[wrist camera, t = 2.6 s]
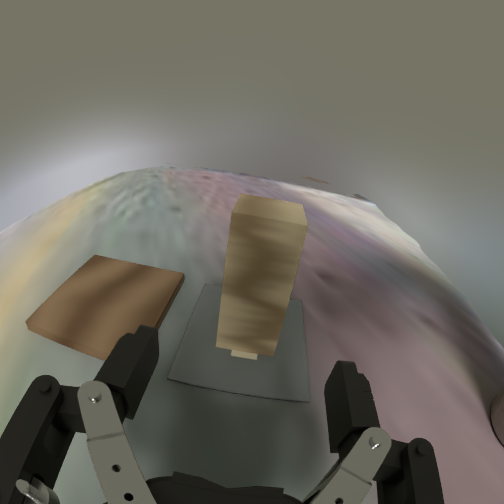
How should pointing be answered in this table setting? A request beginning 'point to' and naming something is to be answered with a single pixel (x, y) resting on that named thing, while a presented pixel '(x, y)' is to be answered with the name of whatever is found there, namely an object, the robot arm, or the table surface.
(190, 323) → the card
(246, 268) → the maple block
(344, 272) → the table surface
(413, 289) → the table surface
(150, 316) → the walnut board
